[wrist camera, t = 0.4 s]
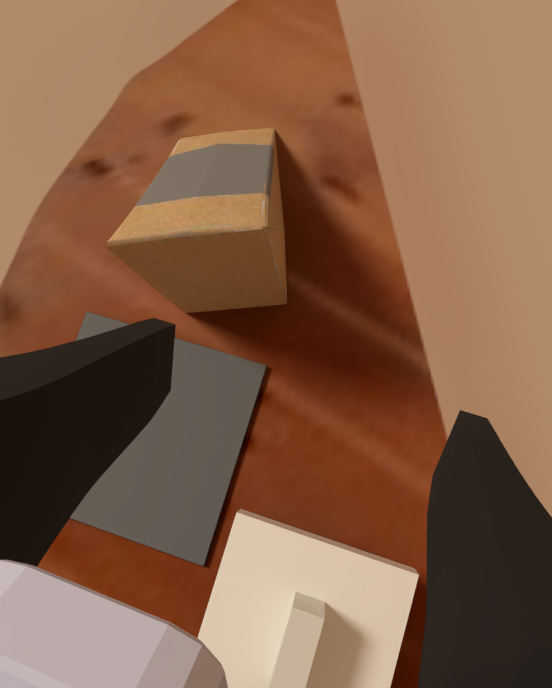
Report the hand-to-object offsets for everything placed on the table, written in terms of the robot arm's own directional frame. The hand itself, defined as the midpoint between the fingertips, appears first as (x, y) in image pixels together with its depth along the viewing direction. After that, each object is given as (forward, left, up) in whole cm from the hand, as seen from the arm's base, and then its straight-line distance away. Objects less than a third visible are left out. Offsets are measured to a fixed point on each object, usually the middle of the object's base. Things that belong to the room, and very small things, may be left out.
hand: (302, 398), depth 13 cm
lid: (-12, -2, -22) cm, 25 cm away
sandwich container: (+14, +11, -27) cm, 32 cm away
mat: (-4, +13, -26) cm, 29 cm away
